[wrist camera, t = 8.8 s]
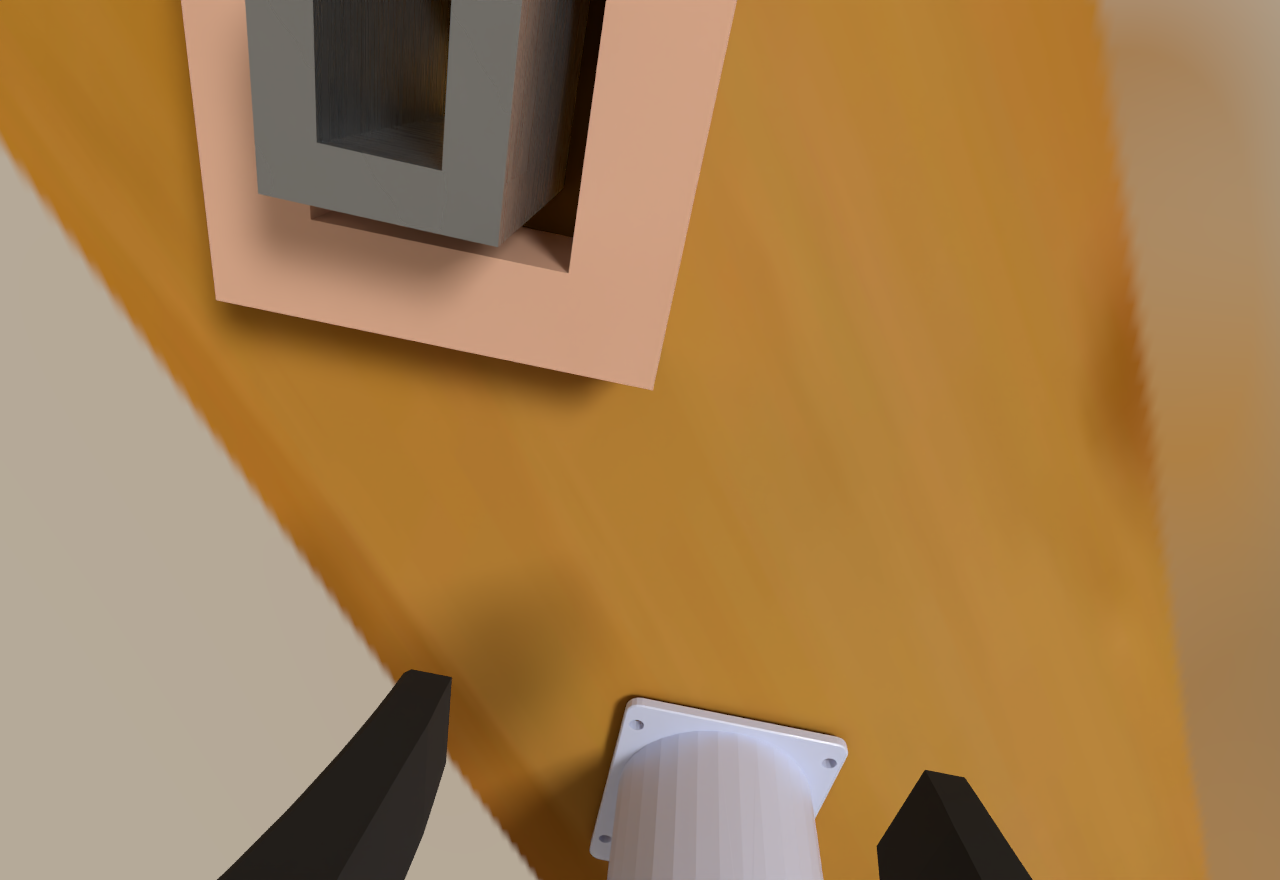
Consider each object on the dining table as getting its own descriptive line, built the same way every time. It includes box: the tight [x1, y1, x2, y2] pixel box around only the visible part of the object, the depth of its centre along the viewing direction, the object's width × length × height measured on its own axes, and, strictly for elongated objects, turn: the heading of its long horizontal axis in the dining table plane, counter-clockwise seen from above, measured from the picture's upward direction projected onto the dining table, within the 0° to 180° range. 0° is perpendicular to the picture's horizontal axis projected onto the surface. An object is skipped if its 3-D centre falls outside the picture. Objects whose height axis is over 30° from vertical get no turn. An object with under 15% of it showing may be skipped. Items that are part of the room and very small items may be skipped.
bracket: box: [245, 0, 590, 247], centre depth 13 cm, size 4×4×6 cm
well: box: [181, 0, 737, 390], centre depth 15 cm, size 10×10×3 cm
